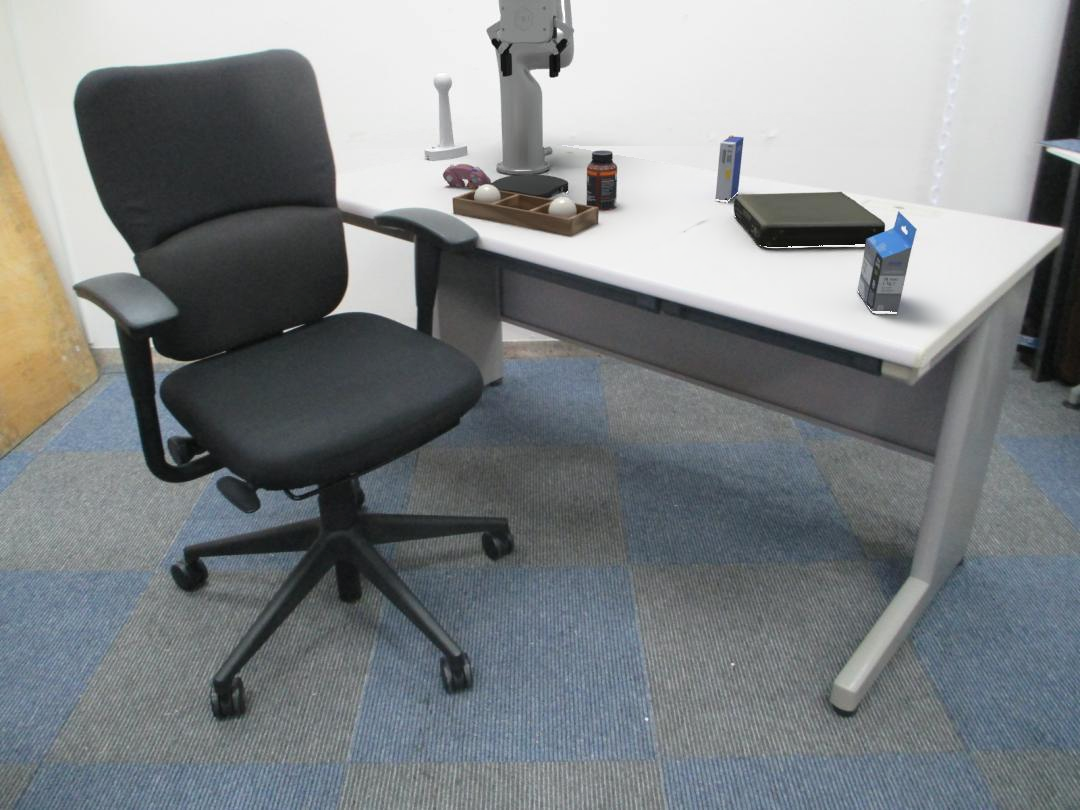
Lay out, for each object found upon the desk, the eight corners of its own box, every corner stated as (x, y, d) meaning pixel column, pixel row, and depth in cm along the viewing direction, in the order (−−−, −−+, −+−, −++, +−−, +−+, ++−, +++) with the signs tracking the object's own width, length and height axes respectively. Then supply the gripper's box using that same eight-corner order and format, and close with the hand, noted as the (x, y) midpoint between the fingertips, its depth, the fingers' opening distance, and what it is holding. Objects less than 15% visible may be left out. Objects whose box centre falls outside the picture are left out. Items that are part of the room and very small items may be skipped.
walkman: (724, 192, 174) (730, 134, 168) (737, 194, 173) (744, 135, 167) (714, 201, 168) (719, 141, 162) (727, 203, 166) (733, 142, 161)
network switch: (895, 249, 141) (901, 220, 139) (766, 258, 138) (770, 229, 135) (831, 212, 161) (835, 186, 159) (718, 219, 158) (720, 193, 156)
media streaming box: (517, 183, 184) (516, 170, 183) (574, 191, 178) (574, 177, 176) (481, 198, 173) (480, 184, 172) (541, 207, 167) (541, 192, 165)
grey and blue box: (855, 291, 123) (870, 210, 117) (882, 292, 122) (898, 210, 117) (870, 314, 115) (887, 228, 109) (899, 315, 115) (918, 229, 109)
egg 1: (485, 206, 164) (484, 180, 161) (506, 210, 161) (505, 183, 159) (469, 212, 160) (467, 185, 158) (490, 216, 157) (489, 189, 155)
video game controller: (446, 195, 181) (437, 170, 175) (454, 182, 183) (445, 156, 177) (487, 199, 177) (479, 173, 172) (494, 185, 180) (487, 159, 174)
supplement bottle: (622, 209, 163) (624, 151, 158) (603, 216, 159) (604, 156, 154) (599, 204, 167) (600, 147, 161) (580, 210, 163) (580, 152, 158)
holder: (484, 206, 167) (483, 187, 165) (598, 227, 153) (598, 207, 151) (453, 217, 160) (452, 197, 158) (569, 240, 146) (570, 219, 144)
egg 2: (558, 219, 155) (558, 192, 152) (581, 224, 152) (582, 196, 150) (542, 226, 151) (542, 198, 149) (566, 231, 148) (566, 202, 146)
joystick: (434, 161, 203) (427, 75, 194) (417, 156, 208) (410, 72, 199) (470, 155, 210) (466, 71, 200) (453, 150, 215) (448, 68, 205)
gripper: (476, -24, 149) (481, 77, 157) (565, -26, 143) (566, 79, 151) (494, -24, 155) (497, 73, 163) (580, -26, 149) (579, 75, 157)
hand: (530, 76), depth 157 cm, fingers open, 9 cm apart
